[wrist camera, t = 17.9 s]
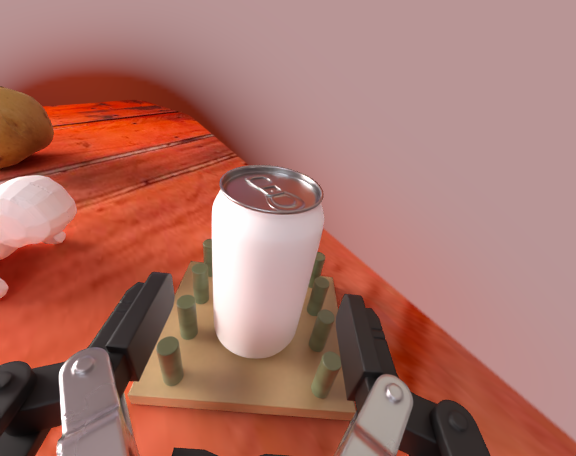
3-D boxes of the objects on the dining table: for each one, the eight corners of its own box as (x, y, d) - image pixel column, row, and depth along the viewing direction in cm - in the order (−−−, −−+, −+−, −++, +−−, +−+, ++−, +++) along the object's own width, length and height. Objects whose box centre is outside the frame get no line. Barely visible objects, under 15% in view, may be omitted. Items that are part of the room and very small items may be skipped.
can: (238, 380, 17) (249, 231, 11) (200, 309, 21) (191, 168, 15) (312, 335, 21) (356, 201, 14) (268, 281, 25) (286, 157, 18)
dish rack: (329, 285, 27) (341, 250, 25) (351, 421, 17) (374, 386, 15) (191, 269, 26) (188, 231, 24) (130, 404, 16) (114, 363, 14)
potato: (-70, 173, 34) (-128, 84, 28) (13, 143, 44) (-16, 74, 38) (17, 183, 34) (-21, 99, 29) (79, 151, 45) (59, 85, 39)
